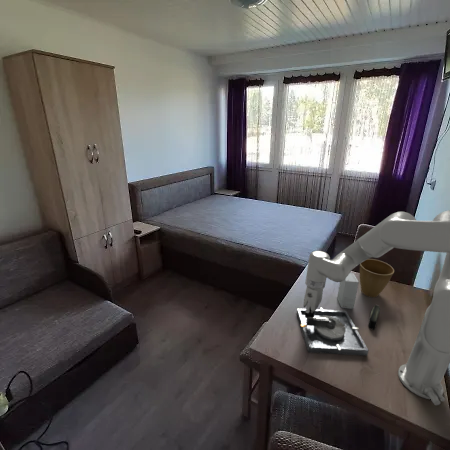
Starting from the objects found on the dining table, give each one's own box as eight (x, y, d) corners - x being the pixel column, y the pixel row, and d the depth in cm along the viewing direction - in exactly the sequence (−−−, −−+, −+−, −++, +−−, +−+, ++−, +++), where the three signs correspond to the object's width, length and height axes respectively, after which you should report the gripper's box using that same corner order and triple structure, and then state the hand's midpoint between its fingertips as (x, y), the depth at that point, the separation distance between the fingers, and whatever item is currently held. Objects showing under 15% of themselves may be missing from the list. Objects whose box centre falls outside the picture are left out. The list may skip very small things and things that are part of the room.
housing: (369, 357, 99) (371, 351, 98) (306, 353, 100) (307, 347, 99) (346, 314, 121) (347, 309, 120) (294, 311, 121) (295, 306, 120)
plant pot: (349, 284, 143) (355, 258, 137) (376, 285, 143) (384, 259, 137) (361, 301, 129) (368, 273, 123) (392, 303, 129) (400, 275, 123)
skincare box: (353, 309, 124) (360, 282, 118) (340, 307, 125) (346, 281, 119) (348, 298, 132) (354, 272, 126) (336, 297, 133) (341, 271, 127)
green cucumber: (377, 322, 110) (381, 302, 121) (369, 319, 111) (373, 300, 123) (374, 331, 112) (378, 311, 123) (367, 328, 113) (371, 308, 125)
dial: (339, 320, 115) (341, 309, 113) (349, 341, 104) (351, 330, 102) (302, 317, 116) (304, 307, 114) (308, 338, 105) (310, 327, 103)
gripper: (319, 293, 97) (311, 332, 104) (330, 276, 109) (323, 311, 116) (299, 286, 102) (293, 324, 108) (312, 270, 113) (306, 305, 120)
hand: (309, 317), depth 112 cm, fingers closed
